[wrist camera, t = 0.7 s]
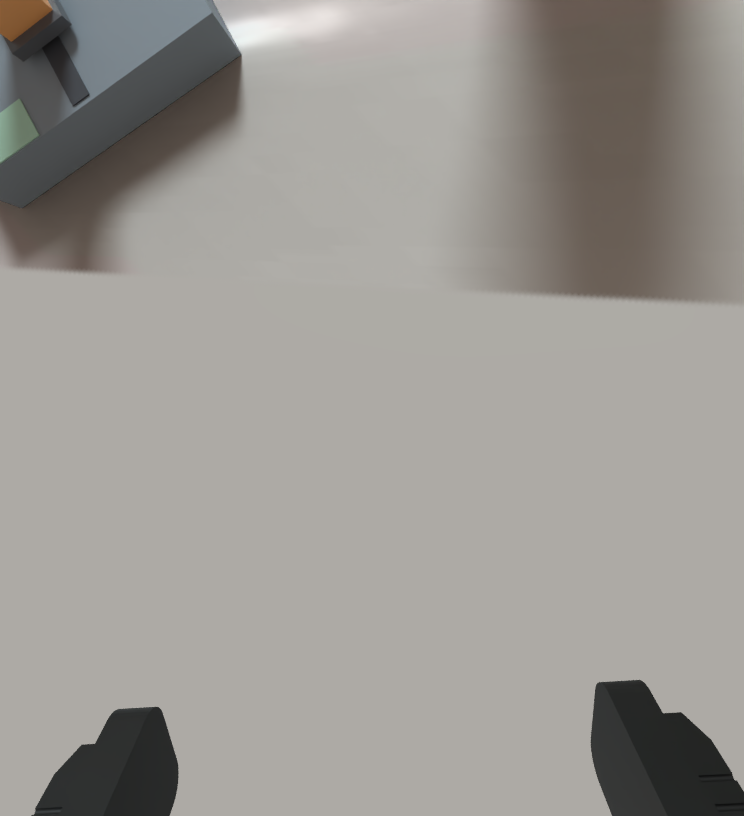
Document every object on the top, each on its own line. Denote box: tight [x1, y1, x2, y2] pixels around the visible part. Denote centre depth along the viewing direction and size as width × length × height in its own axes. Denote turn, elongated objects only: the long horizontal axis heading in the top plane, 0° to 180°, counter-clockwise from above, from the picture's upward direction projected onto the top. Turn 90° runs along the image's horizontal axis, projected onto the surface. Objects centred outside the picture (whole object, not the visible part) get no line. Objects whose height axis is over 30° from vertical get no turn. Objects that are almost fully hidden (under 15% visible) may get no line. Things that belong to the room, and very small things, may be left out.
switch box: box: [0, 0, 241, 208], centre depth 33 cm, size 11×18×4 cm, turn 118°
